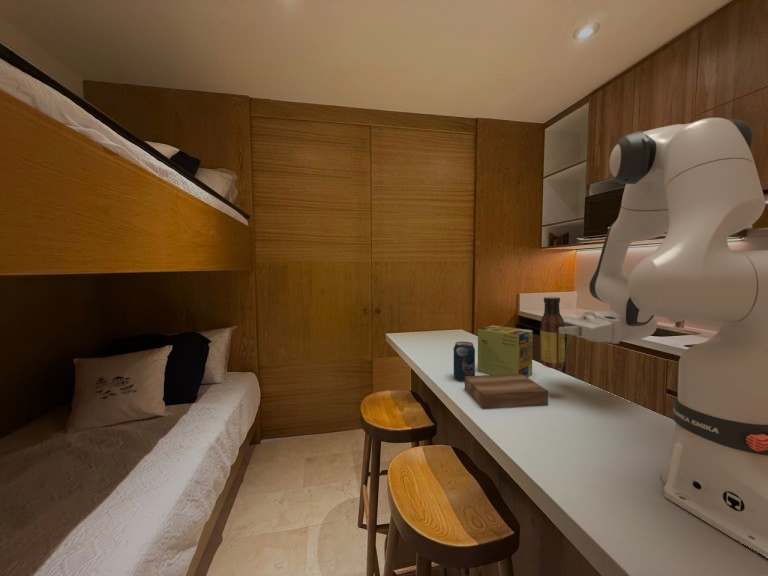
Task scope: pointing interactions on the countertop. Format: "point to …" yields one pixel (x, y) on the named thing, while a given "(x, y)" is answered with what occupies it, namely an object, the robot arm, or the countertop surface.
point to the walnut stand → (505, 391)
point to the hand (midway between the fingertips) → (549, 327)
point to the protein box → (505, 350)
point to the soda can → (464, 360)
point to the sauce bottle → (552, 335)
